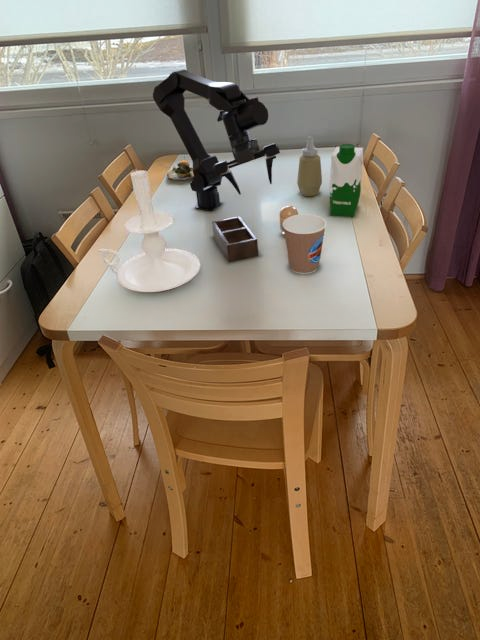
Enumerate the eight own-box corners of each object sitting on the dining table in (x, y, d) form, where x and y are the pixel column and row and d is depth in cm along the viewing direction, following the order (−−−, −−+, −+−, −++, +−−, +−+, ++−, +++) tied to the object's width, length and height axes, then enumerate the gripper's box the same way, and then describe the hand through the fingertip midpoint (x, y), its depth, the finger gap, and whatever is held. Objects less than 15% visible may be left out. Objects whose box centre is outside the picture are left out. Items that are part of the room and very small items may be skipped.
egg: (280, 239, 131) (279, 210, 126) (279, 231, 135) (278, 203, 130) (299, 238, 130) (299, 209, 125) (297, 230, 135) (297, 201, 129)
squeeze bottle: (294, 196, 154) (293, 140, 143) (300, 187, 160) (301, 132, 149) (318, 199, 151) (319, 141, 141) (324, 189, 157) (326, 133, 146)
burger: (161, 178, 177) (157, 158, 173) (186, 169, 183) (183, 150, 179) (180, 185, 170) (177, 165, 165) (205, 176, 176) (203, 156, 171)
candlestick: (120, 258, 129) (93, 155, 112) (208, 259, 125) (195, 152, 108) (90, 301, 112) (54, 188, 96) (191, 303, 109) (172, 186, 92)
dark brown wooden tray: (228, 262, 123) (226, 245, 120) (213, 237, 135) (211, 221, 132) (258, 256, 124) (257, 239, 121) (241, 232, 136) (239, 216, 133)
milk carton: (326, 216, 140) (329, 148, 129) (332, 204, 147) (335, 138, 135) (356, 218, 138) (362, 149, 126) (360, 206, 145) (366, 139, 133)
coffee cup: (314, 281, 112) (315, 236, 105) (276, 272, 117) (274, 228, 110) (331, 262, 119) (333, 218, 112) (294, 253, 124) (294, 211, 117)
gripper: (203, 146, 123) (223, 204, 128) (272, 121, 120) (289, 181, 126) (206, 144, 133) (225, 198, 139) (270, 121, 131) (286, 177, 136)
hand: (255, 189), depth 135 cm, fingers open, 9 cm apart
